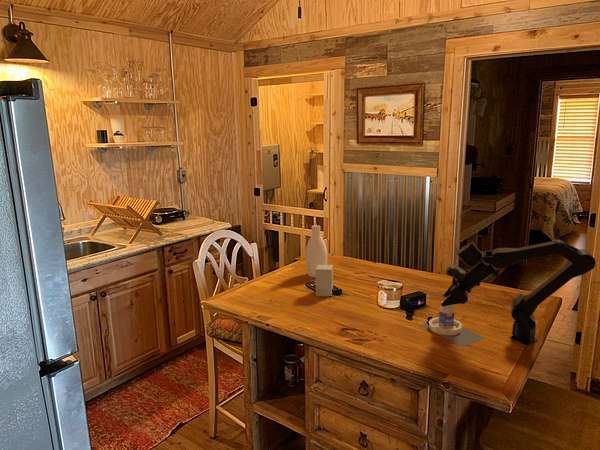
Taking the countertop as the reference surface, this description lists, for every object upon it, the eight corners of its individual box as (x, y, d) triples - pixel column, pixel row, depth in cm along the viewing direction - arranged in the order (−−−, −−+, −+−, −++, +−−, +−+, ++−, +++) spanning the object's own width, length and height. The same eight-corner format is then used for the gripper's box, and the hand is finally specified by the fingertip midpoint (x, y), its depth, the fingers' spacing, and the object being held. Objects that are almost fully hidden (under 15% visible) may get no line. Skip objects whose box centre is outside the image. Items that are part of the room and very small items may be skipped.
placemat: (485, 338, 165) (485, 337, 165) (462, 347, 159) (462, 346, 159) (441, 318, 182) (441, 318, 182) (419, 326, 176) (419, 325, 175)
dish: (468, 330, 171) (468, 325, 170) (446, 338, 165) (446, 333, 164) (443, 319, 180) (444, 314, 180) (422, 326, 175) (422, 321, 174)
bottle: (331, 273, 238) (331, 225, 232) (320, 279, 229) (320, 229, 223) (312, 270, 244) (312, 222, 238) (301, 276, 234) (300, 227, 229)
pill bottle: (446, 331, 169) (447, 306, 167) (435, 326, 174) (436, 301, 171) (456, 327, 172) (458, 303, 169) (445, 322, 176) (446, 298, 174)
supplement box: (331, 296, 206) (331, 269, 204) (315, 296, 208) (314, 269, 205) (333, 290, 214) (333, 264, 211) (317, 290, 215) (317, 264, 212)
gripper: (462, 251, 174) (430, 276, 180) (459, 266, 157) (424, 293, 163) (483, 273, 172) (450, 297, 179) (482, 290, 156) (446, 317, 162)
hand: (442, 300), depth 171 cm, fingers open, 9 cm apart
